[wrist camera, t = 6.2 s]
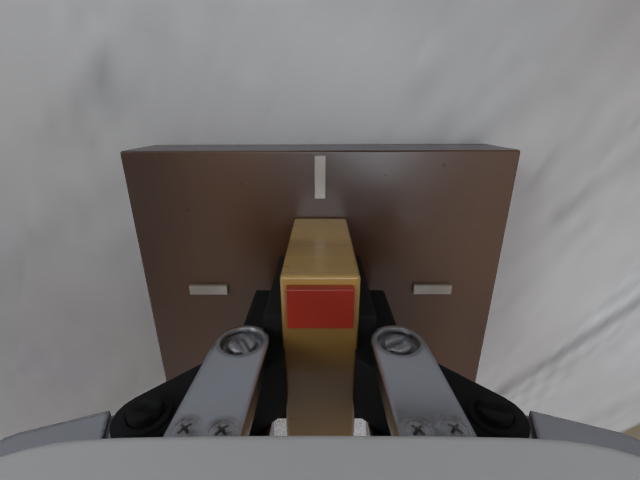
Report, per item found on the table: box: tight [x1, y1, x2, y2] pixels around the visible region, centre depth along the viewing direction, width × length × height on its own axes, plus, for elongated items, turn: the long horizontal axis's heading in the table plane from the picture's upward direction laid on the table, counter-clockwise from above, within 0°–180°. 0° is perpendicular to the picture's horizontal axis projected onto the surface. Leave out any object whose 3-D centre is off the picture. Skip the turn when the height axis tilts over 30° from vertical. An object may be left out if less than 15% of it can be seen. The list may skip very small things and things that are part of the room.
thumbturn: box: [280, 219, 361, 436], centre depth 10 cm, size 6×2×5 cm, turn 0°
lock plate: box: [121, 144, 520, 382], centre depth 14 cm, size 13×10×3 cm
